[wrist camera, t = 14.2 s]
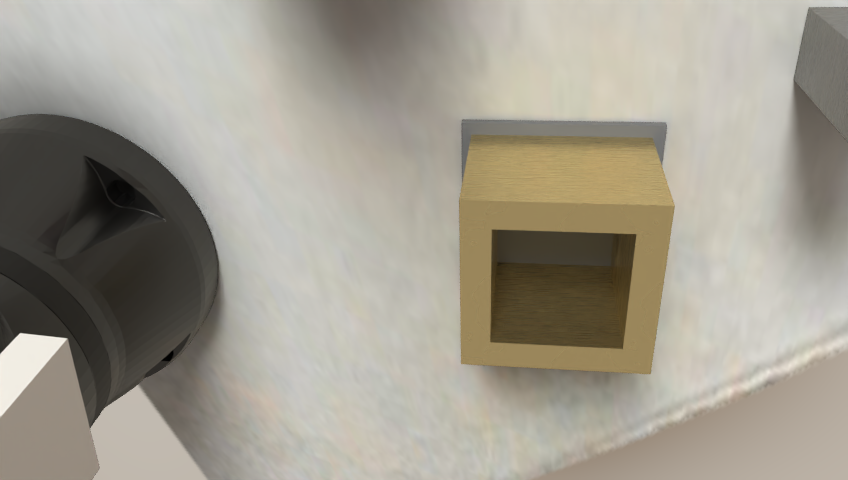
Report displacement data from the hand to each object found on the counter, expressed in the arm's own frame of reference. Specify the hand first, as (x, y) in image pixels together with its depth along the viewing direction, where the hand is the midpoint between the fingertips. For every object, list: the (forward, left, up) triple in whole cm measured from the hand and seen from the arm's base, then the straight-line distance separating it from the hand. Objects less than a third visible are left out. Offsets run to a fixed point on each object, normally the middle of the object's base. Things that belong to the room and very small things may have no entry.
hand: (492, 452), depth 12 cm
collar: (+2, -9, -25) cm, 26 cm away
